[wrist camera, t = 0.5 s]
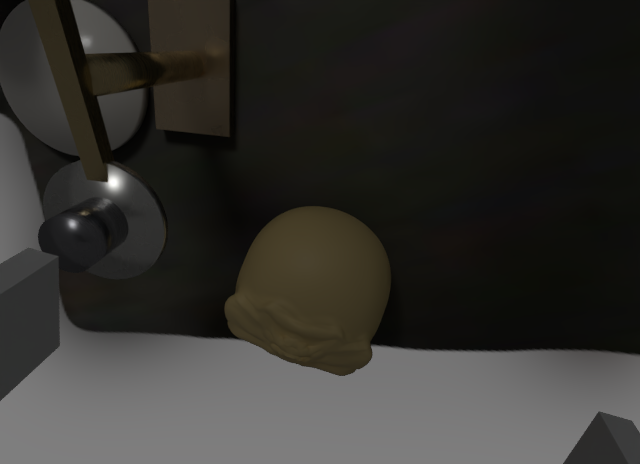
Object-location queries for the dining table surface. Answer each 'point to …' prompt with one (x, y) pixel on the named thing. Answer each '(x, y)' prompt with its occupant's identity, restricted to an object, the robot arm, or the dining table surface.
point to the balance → (92, 140)
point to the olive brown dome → (312, 290)
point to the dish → (39, 86)
